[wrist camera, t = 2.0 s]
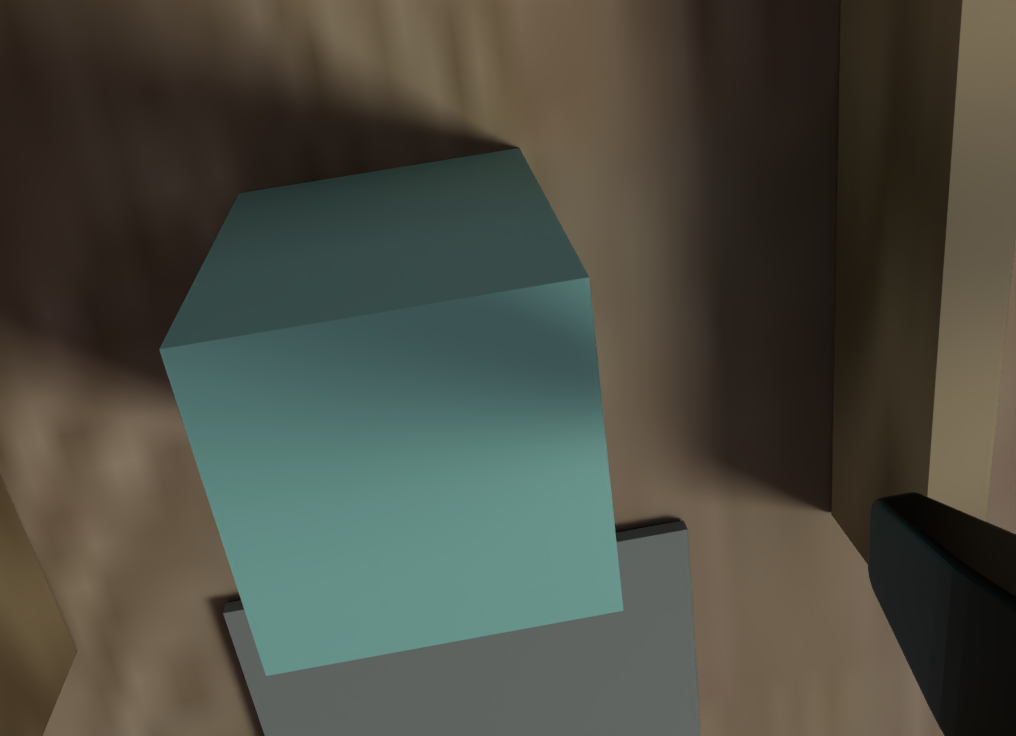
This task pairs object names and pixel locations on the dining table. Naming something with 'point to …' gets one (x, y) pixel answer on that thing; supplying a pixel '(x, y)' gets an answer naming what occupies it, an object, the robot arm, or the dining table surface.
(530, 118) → the dining table surface
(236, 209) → the teal block
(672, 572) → the grey rubber mat
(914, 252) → the walnut crate
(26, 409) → the dining table surface
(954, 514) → the robot arm
